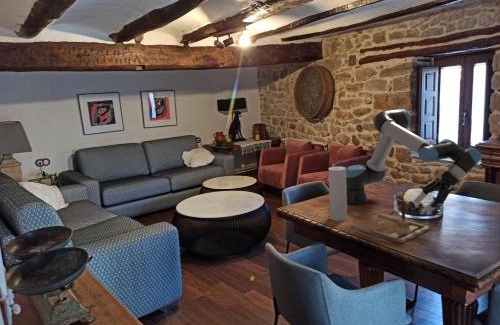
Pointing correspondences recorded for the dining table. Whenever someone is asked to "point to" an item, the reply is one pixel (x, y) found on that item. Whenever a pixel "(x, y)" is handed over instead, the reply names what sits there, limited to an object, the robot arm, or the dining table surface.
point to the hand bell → (403, 222)
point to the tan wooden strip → (403, 234)
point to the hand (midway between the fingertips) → (420, 206)
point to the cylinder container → (337, 193)
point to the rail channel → (400, 240)
